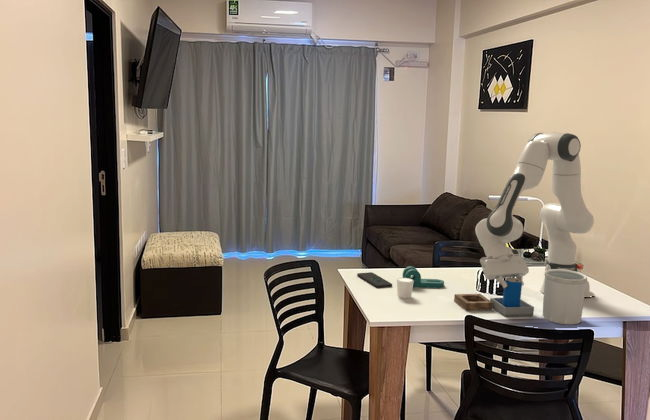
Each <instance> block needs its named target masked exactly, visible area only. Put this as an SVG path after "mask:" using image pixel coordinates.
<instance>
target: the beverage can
mask: <svg viewBox="0 0 650 420" xmlns="http://www.w3.org/2000/svg"><path fill="white" fill-rule="evenodd" d="M504 281H505V282H507V283H508V285H509V287H507V288H503V294H502V298H503V303H502V305H503V306H505V307H520V299H521V300H522V287H523V286H522V283H521V280H520V279H517V278H516V277H510V278H505V280H504Z"/></svg>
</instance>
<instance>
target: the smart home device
mask: <svg viewBox="0 0 650 420" xmlns="http://www.w3.org/2000/svg"><path fill="white" fill-rule="evenodd" d="M356 277H358V278H359V279H361V280H363V282H364V281H365V282H366V283H367V284H368V285H370V286H372V287H374V288H375V289H384V288H392V287H393V283H391V282H390V281H388V280H386V279H385V278H383V277H381V276H379V275H377V273H374V272H359V273H357V275H356Z"/></svg>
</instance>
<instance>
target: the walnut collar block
mask: <svg viewBox="0 0 650 420" xmlns="http://www.w3.org/2000/svg"><path fill="white" fill-rule="evenodd" d="M453 297H454V298H453V302H454V303H455V304H457V305H458V306H459V307H460V308H461V309H463V310H464V311H470V312H471V311H493V310H494V309H493V302H492V301H490V299H489V298H487V297H485V296H484V295H483V294H481V293H457V294H456V293H455V294H454V295H453Z"/></svg>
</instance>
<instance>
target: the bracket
mask: <svg viewBox="0 0 650 420" xmlns="http://www.w3.org/2000/svg"><path fill="white" fill-rule="evenodd" d="M402 278H410V279H412V280H414V282H413V288H427V289H429V288H430V289H432V288H433V289H441V288H444V287H445V281H444V280H442V279H438V278H422V275H421V273H420V272H419V270H418V269H417V268H416V267H415V266H411V265H410V266H406V267H405V268H404V269H403V271H402Z"/></svg>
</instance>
